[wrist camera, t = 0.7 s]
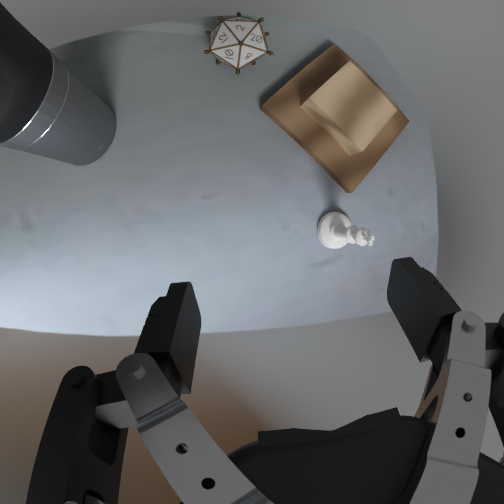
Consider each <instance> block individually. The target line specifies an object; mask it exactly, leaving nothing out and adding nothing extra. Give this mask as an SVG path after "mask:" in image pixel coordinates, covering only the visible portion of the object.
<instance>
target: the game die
mask: <svg viewBox="0 0 504 504" xmlns="http://www.w3.org/2000/svg"><path fill="white" fill-rule="evenodd" d="M240 14H241V13H239V12H238V13H237V17H233V18H229V19H225V20H223V18H222V17H221V16H218V19H219V20H220V21H221V22H220V23H219V24H218V25H217V26H216V27H215V28H214V30H213V31H212V32H210V31H206V32H205V33H206V34H210V46H209V50H205V51H204V53H205V54H207V53H209V52H211V53H212V54H213V55H214V56H215V57H216V58H217V59H218V61H217V62H216V64H219V63H220V62H223V63H225V64H227V65H229V66H231V67H233V68H235V69H236V74H237V75H239V73H240V70H239V69H240V68H242V67H244V66H245V65H247V64H249V63H252V65H255V63H256V62H255V61H254V60H256V59H257V58H259V57H261V56H263V55H264V54H266V53H268V54H270V55H274V54H273V52H271V51H268V48H267V43H266V38H265V36H267V35H269V33H268V32H265V33H264V31H263V29H262V26H261V24H260V22H262V21H264V20H263V19H264V17H263V18H260V19H259V20H258V21H256V20H252V19H248V18H244V17H240Z"/></svg>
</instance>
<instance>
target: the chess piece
mask: <svg viewBox="0 0 504 504" xmlns="http://www.w3.org/2000/svg"><path fill="white" fill-rule="evenodd" d="M317 233H318V237H319V240H320V241H321V243H322V244H323V245H324V246H326V247H328V248H332V249H337V248H341V247H343V246H344V245H346V244H347V243H348V242H349V243H352V244H354V243H357V244H358V245H360V246H365V245H367V244H368V246H372V245H373V242H372V241H374V240H375V239H374V236H371V234H370V231H369V230H368V229H367V228H364V227H362V228H359V227H357V226H355V225H351V223H350V221H349V219H348V218H347V217H346V216H345V215H343V214H341V213H339V212H330V213H327V214H326V215H324V216H323V217H322V218H321V220H320V222H319V224H318V228H317Z"/></svg>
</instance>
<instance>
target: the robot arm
mask: <svg viewBox="0 0 504 504" xmlns="http://www.w3.org/2000/svg"><path fill="white" fill-rule="evenodd" d="M115 131H116V120H115V116H114V113H113V111H112V110H111V108H110V107H109V106H108V105H107V104H106V103H105V102H104V101H103V100H102V99H101V98H100V97H99V96H98V95H97V94H96V93H95V92H93V91H92V90H91V89H90V88H89V87H88V86H87V85H86V84H85V83H84V82H83V81H82V80H81V79H80V78H79V77H78V76H76V75H75V74H74V73H73V72H72V71H71V70H70V69H69V68H68V67H67V66H66V65H65V64H64V63H63V62H61V61H60V60H59V59H58V58H57V57H56V56H55V55H54V54H53V53H52V52H51V51H50V50H48V49H47V48H46V47H45V46H44V45H43V44H42V43H40V41H39V40H37V39H36V38H35V37H34V36H33V35H32V34H31V33H30V32H29V31H28V30H27V29H26V28H25V27H23V25H21V24H20V23H19V22H18V21H17V20H16V19H15V18H14V17H13V16H12V15H11V14H10V13H9V12H8V10H7V9H5V7H4V6H3V5H2V4H1V3H0V146H3V147H7V148H11V149H16V150H20V151H24V152H28V153H32V154H36V155H40V156H44V157H48V158H51V159H55V160H59V161H62V162H66V163H70V164H74V165H86V164H90V163H92V162H94V161H96V160H97V159H98V158H100V157H101V156H102V155H103V154H104V153H105V152H106V151H107V149H108V148H109V146H110V145H111V142H112V140H113V138H114V135H115ZM387 299H388V303H389V305H390V307H391V309H392V311H393V312H394V314H395V316H396V318H397V319H398V321H399V323H400V325H401V327H402V329H403V330H404V332H405V334H406V336H407V338H408V340H409V342H410V344H411V345H412V347H413V350H414V351H415V353H416V355H417V357H418V359H419V361H420V362H424V361H427V360H431V361H432V365H431V367H430V370H429V374H428V377H427V381H426V385H425V388H424V392H423V395H422V398H421V402H420V404H419V407H418V409H417V412H416V413H415V415H414V417H412V416H400V414H399V411H398V408H397V407H396V408H393V409H389V410H385V411H382V412H378V413H374V414H370V415H366V416H364V417H362V418H360V419H358V420H356V421H354V422H351V423H349V424H347V425H345V426H343V427H340V428H338V429H336V430H332V431H325V430H324V431H323V430H309V429H297V428H292V429H282V430H272V431H259V432H258V440H257V441H253V442H250V443H248V444H245V445H243V446H241V447H239V448H237V449H236V450H234V451H233V452H231V453H230V454H228V455H227V456H226V455H225V454H224V452H223V451H222V450H221V449H220V448H219V447H218V445H217V444H216V443H215V442H214V441H213V439H212V438H211V437H210V436H209V434H208V433H207V432H206V431H205V429H204V428H203V427H202V426H201V424H200V423H199V422H198V420H197V419H196V418H195V417H194V415H193V414H192V413H191V411H190V410H189V408H188V407H187V406H186V404H185V403H184V402H183V401H182V400H181V399H180V395H181V394H190V393H191V386H192V379H193V372H194V366H195V359H196V354H197V348H198V341H199V335H200V329H201V315H200V311H199V307H198V304H197V300H196V297H195V293H194V290H193V286H192V284H191V282H179V283H171V284H170V287H169V289H168V292H167V295H166V296H164V297H159V298H158V299H157V300H156V301H155V303H154V304H153V305H152V306H151V309H150V311H149V314H148V317H147V319H146V322H145V325H144V327H143V330H142V332H141V335H140V338H139V341H138V344H137V346H136V349H135V352H134V354H132V355H129V356H127V357H125V358H124V359H123V360H122V361H121V362H120V363H119V365H118V366H117V369H116V370H115V371H111V372H106V373H102V374H97V375H95V374H94V372H93V371H92V370H91V369H90V368H89V367H87V366H77V367H74V368H72V369H71V370H69V371H68V372H67V373H66V374H65V376H64V377H63V379H62V381H61V384H60V386H59V389H58V392H57V394H56V397H55V400H54V402H53V405H52V408H51V411H50V414H49V417H48V420H47V422H46V426H45V429H44V432H43V435H42V439H41V442H40V445H39V449H38V452H37V456H36V460H35V463H34V468H33V471H32V476H31V480H30V485H29V490H28V495H27V500H26V504H118V495H119V487H120V479H121V471H122V464H123V457H124V451H125V445H126V438H127V433H128V427H132V426H136V427H137V429H138V432H139V433H140V435H141V437H142V439H143V441H144V442H145V444H146V446H147V448H148V450H149V451H150V453H151V455H152V456H153V458H154V460H155V461H156V463H157V465H158V466H159V468H160V469H161V471H162V473H163V474H164V476H165V477H166V479H167V480H168V481H169V483H170V485H171V486H172V488H173V489H174V490H175V492H176V493H177V495H178V496H179V497H180V499H181V500H182V502H180V503H179V504H504V453H503V457H502V458H501V459H500V461H499V462H497V461H495V460H493V459H492V458H490V457H488V456H486V455H484V454H482V453H481V452H480V449H481V444H482V440H483V435H484V430H485V424H486V418H487V412H488V407H489V409H490V411H491V414H492V416H493V419H494V421H495V424H496V427H497V429H498V432H499V435H500V437H501V440H502V443H503V446H504V313H503V314H502V315H501V317H500V319H499V322H498V323H484V321H483V320H482V318H481V317H480V316H478V315H477V314H476V313H473V312H471V311H462V310H461V309H460V307H459V306H458V305H457V304H456V302H455V301H454V300H453V298H452V297H451V296H450V295H449V293H448V292H447V291H446V290H444V287H443V286H442V285H441V283H439V281H438V280H437V279H436V277H435V276H434V275H433V274H432V273H431V272H429V271H428V270H426V269H424V268H423V267H422V268H421V267H420V266H419V265H418V264H417V263H416V262H415V260H414V259H413V258H412V257H407V258H399V259H394V260H393V262H392V266H391V272H390V277H389V283H388V288H387Z"/></svg>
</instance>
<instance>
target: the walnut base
mask: <svg viewBox="0 0 504 504" xmlns="http://www.w3.org/2000/svg"><path fill="white" fill-rule="evenodd" d="M260 110H262V111H263V112H264V113H265V114H266V115H267V116H269V117H270V118H271V119H272V120H273V121H274V122H275V123H276V124H278V125H279V126H280V127H281V128H282V129H283V130H284V131H285V132H286V133H287V134H289V135H290V136H291V137H292V138H293V139H294V140H295V141H296V142H297V143H298V144H299V145H300V146H301V147H302V148H303V149H304V150H306V151H307V152H308V153H309V154H310V155H311V156H312V157H313V158H314V159H315V160H316V161H317V162H318V163H319V164H320V165H321V166H322V167H323V168H324V169H325V170H326V171H327V172H328V173H329V174H330V176H331V177H332V178H333V179H334V180H335V181H336V182H337V183H338V184H339V185H340V186H341V187H342V188H343V189H344V190H345V191H346V192H347V193H352V192H353V191H354V190H355V189H356V188H357V186H358V185H359V184H360V183H361V181H362V180H363V179H364V178H365V177H366V175H367V174H368V173H369V172H370V170H371V169H372V168H373V167H374V165H375V164H376V163H377V162H378V160H379V159H380V158H381V157H382V155H383V154H384V153H385V152H386V150H387V149H388V148H389V147H390V145H391V144H392V143H393V142H394V140H395V139H396V138H397V136H398V135H399V134H400V133H401V131H402V130H403V129H404V127H405V126H406V125H407V124H408V122H409V120H408V119H407V118H406V117H405V115H404V114H403V113H402V112H401V111H400V109H399V108H398V107H397V106H396V105H395V104H394V102H393V101H392V100H391V99H390V98H389V97H388V96H387V94H386V93H385V92H384V91H383V90H382V89H381V88H380V87H379V86H378V85H377V84H376V83H375V82H374V81H373V80H372V78H371V77H370V76H369V75H368V74H367V73H366V72H365V71H364V70H363V69H362V68H360V67H359V66H358V65H357V64H356V63H355V62H354V61H353V60H352V59H351V58H350V57H349V56H348V55H347V54H346V53H344V52H343V51H342V50H341V49H340V48H339V47H338V46H337V45H335V44H333V45H332V46H331V47H329V48H328V49H327V50H326V51H324V52H323V53H322V54H321V55H319V56H318V57H317V58H316V59H314V60H313V61H312V62H311V63H309V64H308V65H307V66H306V67H305V68H303V69H302V70H301V71H300V72H299V73H298V74H296V75H295V76H294V77H293V78H292V79H291V80H289V81H288V82H287V83H286V84H285V85H284V86H283V87H282V88H280V89H279V90H278V91H277V92H276V93H275V94H274V95H273V96H272V97H270V98H269V99H268V100H267V101H266V102H265V103H264V104H263V105H262V106H261V108H260Z"/></svg>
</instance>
